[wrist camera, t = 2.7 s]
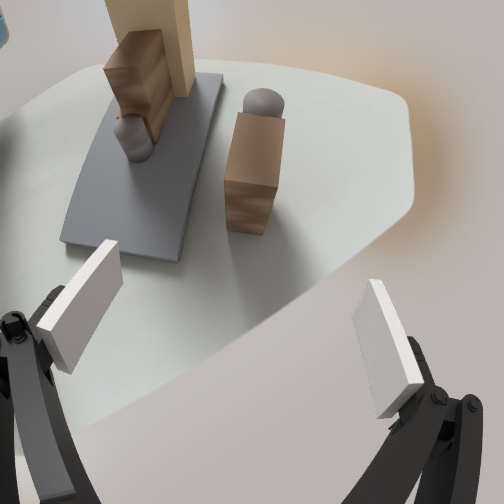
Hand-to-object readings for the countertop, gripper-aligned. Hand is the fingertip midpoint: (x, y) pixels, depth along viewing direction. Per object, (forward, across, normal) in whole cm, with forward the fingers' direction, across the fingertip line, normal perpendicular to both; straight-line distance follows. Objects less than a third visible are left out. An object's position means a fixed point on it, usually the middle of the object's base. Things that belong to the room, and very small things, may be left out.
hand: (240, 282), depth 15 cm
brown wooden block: (+18, 0, -2) cm, 18 cm away
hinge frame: (+21, -13, +1) cm, 25 cm away
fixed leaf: (+21, -13, +4) cm, 26 cm away
